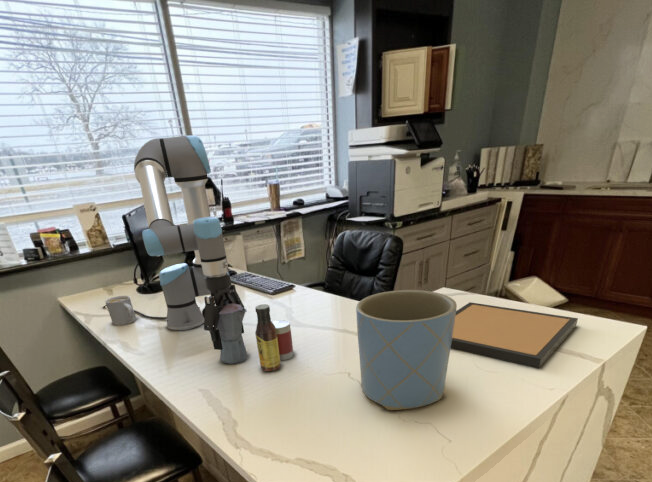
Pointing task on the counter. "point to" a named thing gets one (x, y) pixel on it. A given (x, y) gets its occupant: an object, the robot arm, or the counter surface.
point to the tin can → (284, 339)
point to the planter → (405, 346)
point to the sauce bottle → (267, 339)
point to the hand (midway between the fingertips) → (229, 340)
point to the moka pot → (231, 333)
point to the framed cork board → (509, 333)
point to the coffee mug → (121, 310)
